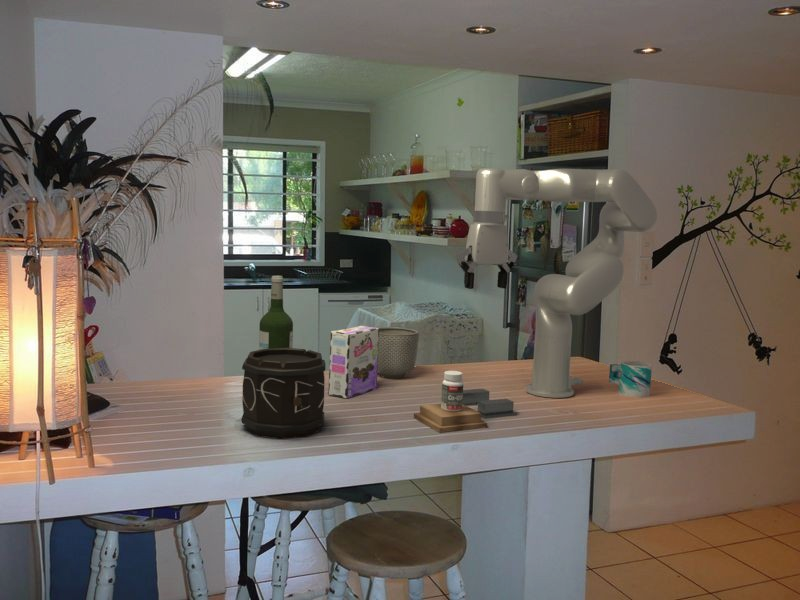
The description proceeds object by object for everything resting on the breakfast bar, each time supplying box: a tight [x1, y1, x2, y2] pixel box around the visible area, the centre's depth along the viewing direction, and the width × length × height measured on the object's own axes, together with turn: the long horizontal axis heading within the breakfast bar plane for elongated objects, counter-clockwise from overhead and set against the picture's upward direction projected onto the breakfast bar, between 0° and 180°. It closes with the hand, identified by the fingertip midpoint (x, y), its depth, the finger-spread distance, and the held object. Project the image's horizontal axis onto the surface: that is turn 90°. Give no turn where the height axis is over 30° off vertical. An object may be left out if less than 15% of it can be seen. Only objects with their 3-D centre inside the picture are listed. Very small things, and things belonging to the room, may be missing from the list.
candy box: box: [328, 325, 379, 399], centre depth 190 cm, size 14×6×16 cm, turn 148°
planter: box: [377, 326, 420, 380], centre depth 211 cm, size 14×14×13 cm
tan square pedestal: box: [413, 403, 488, 433], centre depth 167 cm, size 12×12×3 cm
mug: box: [608, 360, 653, 399], centre depth 203 cm, size 8×12×8 cm
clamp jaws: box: [462, 388, 518, 419], centre depth 181 cm, size 9×15×3 cm, turn 26°
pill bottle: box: [440, 370, 464, 412], centre depth 167 cm, size 5×5×8 cm
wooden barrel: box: [240, 347, 327, 440], centre depth 158 cm, size 18×18×16 cm
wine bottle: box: [258, 275, 294, 350], centre depth 179 cm, size 8×8×30 cm
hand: (485, 288), depth 186 cm, fingers open, 9 cm apart
